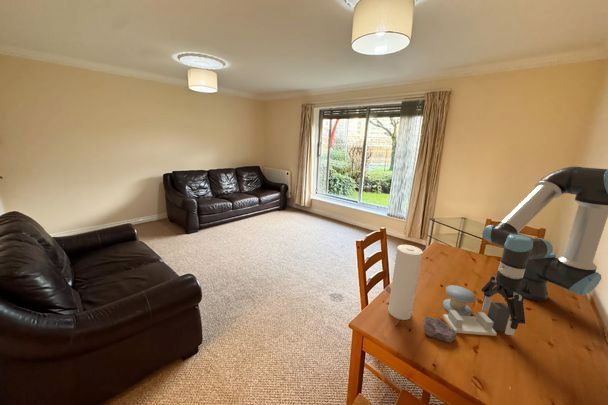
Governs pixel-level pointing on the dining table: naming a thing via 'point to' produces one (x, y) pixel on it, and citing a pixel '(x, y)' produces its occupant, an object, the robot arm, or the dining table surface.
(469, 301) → the spool
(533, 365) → the dining table surface
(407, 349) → the dining table surface
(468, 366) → the dining table surface
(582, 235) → the robot arm
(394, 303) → the cylinder container
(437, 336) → the rock
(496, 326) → the gray rectangular block
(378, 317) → the dining table surface
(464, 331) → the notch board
